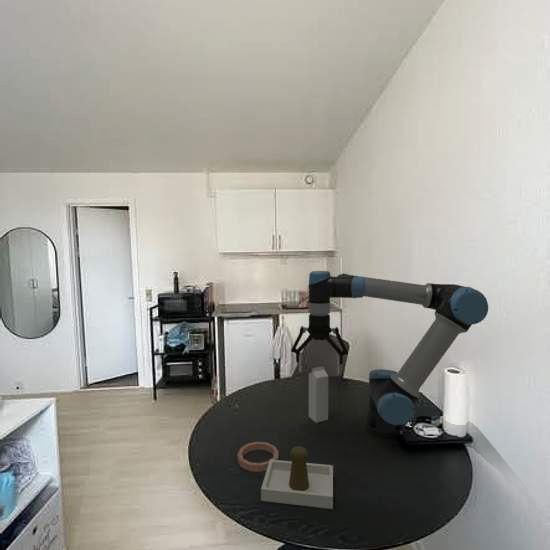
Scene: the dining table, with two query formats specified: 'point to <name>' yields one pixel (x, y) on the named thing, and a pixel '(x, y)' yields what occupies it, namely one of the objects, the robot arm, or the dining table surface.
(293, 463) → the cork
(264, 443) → the ring
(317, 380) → the milk
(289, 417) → the dining table surface
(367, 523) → the dining table surface
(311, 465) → the tray
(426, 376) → the robot arm
